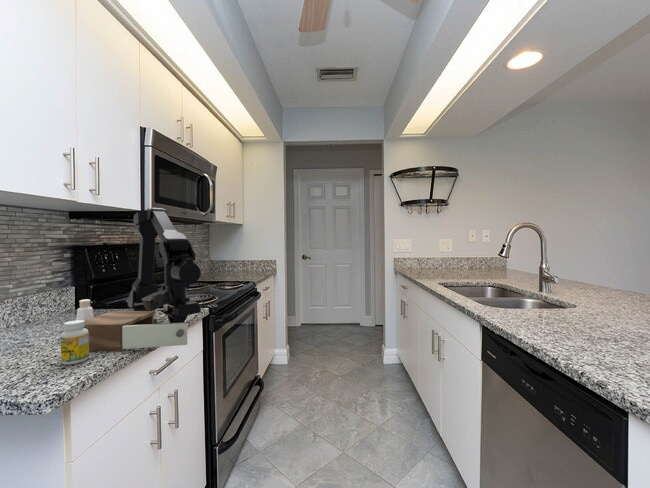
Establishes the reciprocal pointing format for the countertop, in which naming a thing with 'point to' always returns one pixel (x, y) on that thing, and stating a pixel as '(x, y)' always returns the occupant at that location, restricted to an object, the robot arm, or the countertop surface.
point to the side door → (154, 335)
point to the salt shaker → (84, 310)
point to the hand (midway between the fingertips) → (176, 334)
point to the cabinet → (113, 328)
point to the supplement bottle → (74, 343)
